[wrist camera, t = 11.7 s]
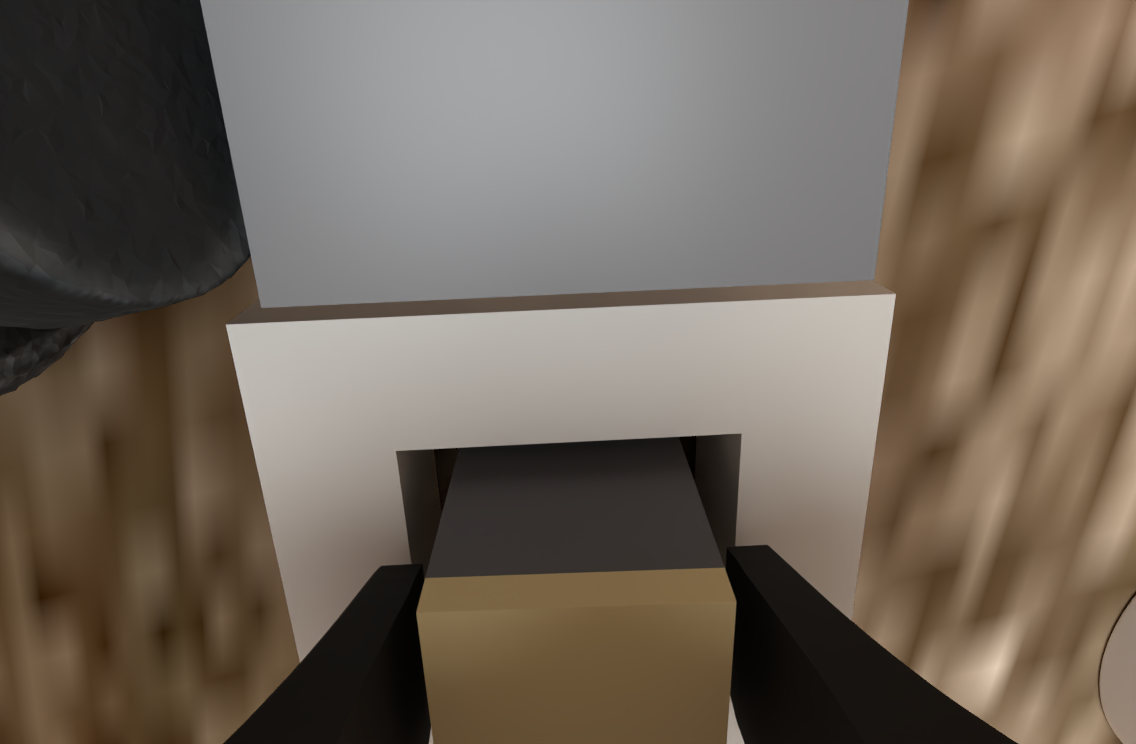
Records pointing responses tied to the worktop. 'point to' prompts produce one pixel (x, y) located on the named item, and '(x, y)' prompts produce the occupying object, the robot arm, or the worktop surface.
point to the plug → (576, 599)
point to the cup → (1121, 677)
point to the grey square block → (555, 143)
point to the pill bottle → (107, 171)
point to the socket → (562, 416)
